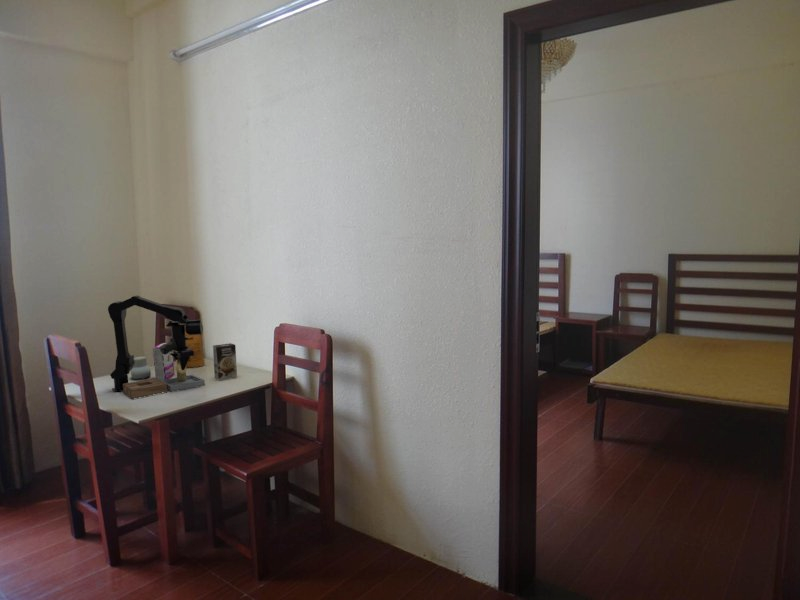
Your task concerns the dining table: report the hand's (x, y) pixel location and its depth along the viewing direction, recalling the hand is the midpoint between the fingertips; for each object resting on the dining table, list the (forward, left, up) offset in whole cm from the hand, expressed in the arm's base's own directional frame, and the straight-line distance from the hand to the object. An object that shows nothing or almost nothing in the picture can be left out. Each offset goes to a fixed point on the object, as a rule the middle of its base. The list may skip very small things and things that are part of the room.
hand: (181, 369), depth 251 cm
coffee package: (-35, +18, -8) cm, 40 cm away
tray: (0, 0, -8) cm, 8 cm away
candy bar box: (-20, -1, -8) cm, 22 cm away
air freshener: (-30, -9, -8) cm, 32 cm away
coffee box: (+2, +20, -8) cm, 22 cm away
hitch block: (-1, -16, -8) cm, 18 cm away
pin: (0, 0, -6) cm, 6 cm away
